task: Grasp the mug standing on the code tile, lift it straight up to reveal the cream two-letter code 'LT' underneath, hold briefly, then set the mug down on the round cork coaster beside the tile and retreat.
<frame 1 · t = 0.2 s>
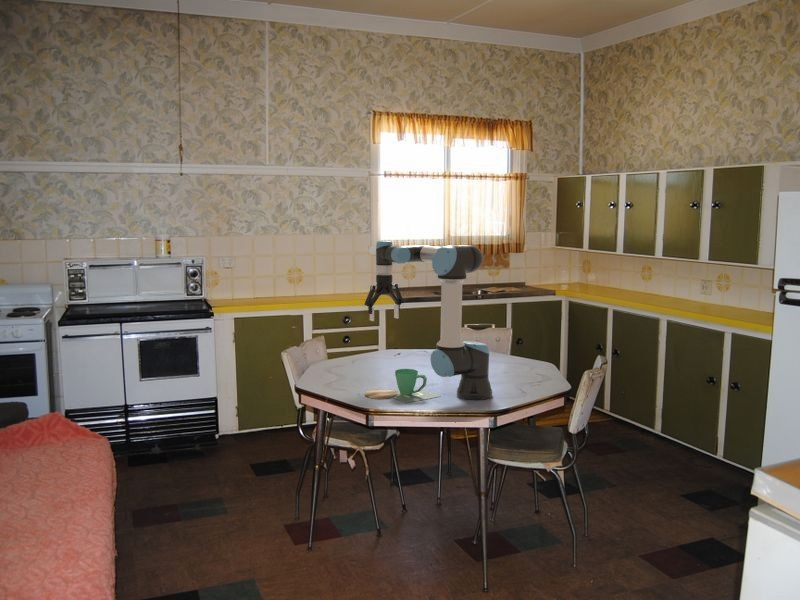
hand: (384, 319, 343), 28 cm above the table, fingers open, 13 cm apart
coaster: (381, 394, 316), on the table
code tile: (411, 395, 315), on the table
mug: (411, 395, 315), resting on code tile
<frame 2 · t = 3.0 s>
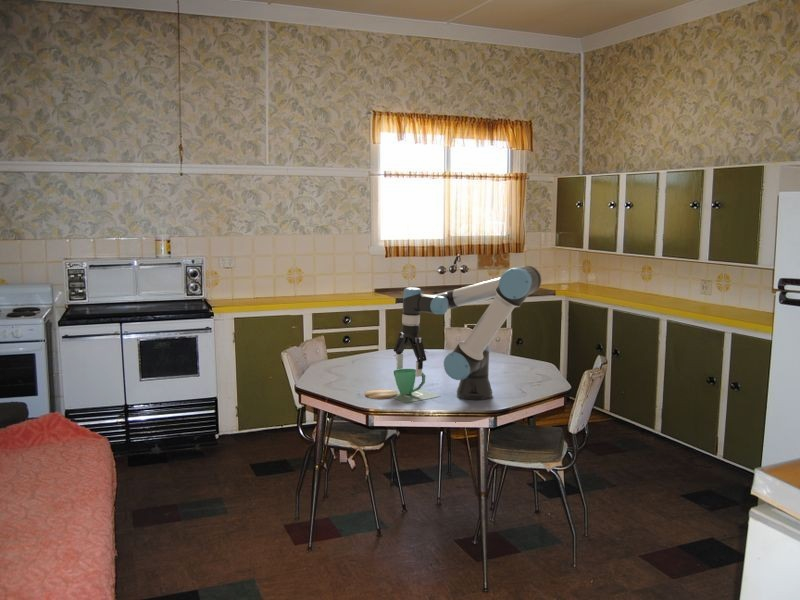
hand: (408, 372, 315), 10 cm above the table, fingers open, 13 cm apart
mug: (411, 394, 315), resting on code tile, touching gripper
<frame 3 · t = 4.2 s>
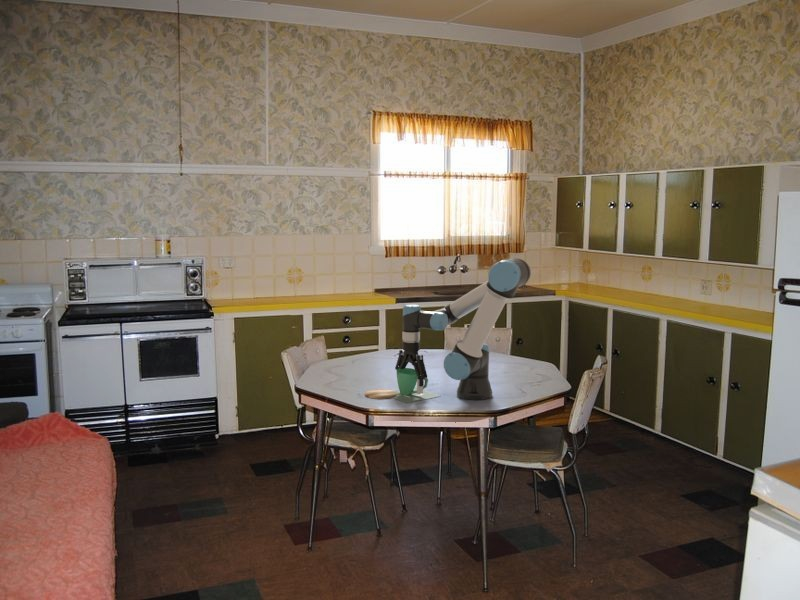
hand: (410, 390, 315), 2 cm above the table, fingers closed on mug, 12 cm apart
mug: (410, 395, 315), resting on code tile, touching gripper
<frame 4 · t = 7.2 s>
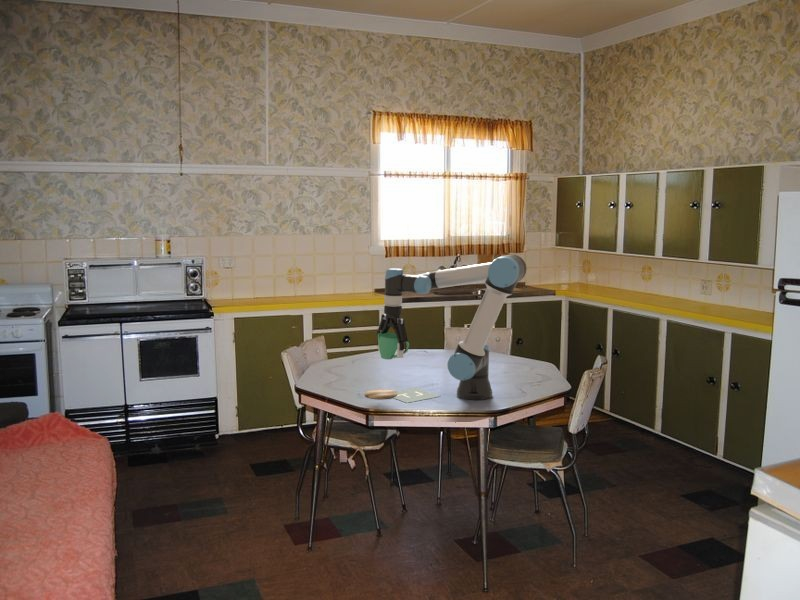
hand: (391, 354, 314), 18 cm above the table, fingers closed on mug, 12 cm apart
mug: (391, 359, 314), point 15 cm above the table, touching gripper
when the fingers open (4 cm above the table, at t = 10.5 s): mug drops 1 cm, resting on coaster.
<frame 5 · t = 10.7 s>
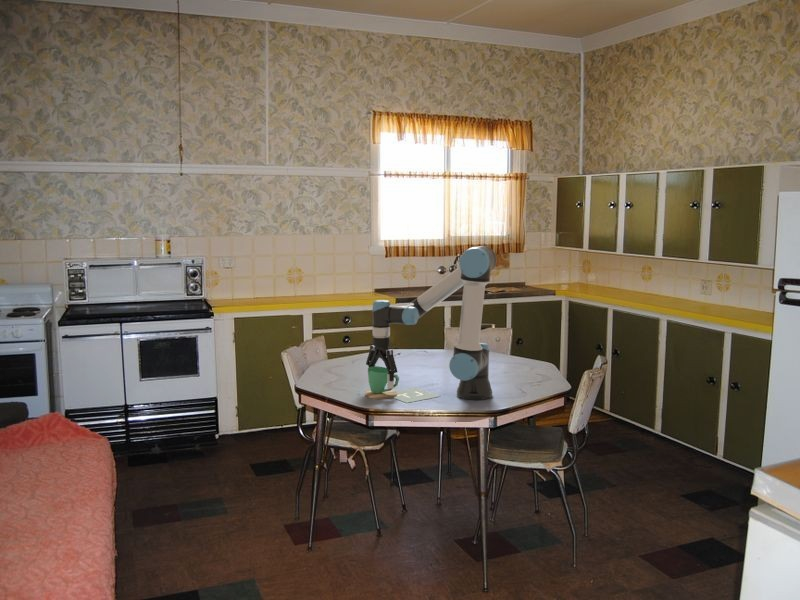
hand: (381, 385, 315), 4 cm above the table, fingers open, 13 cm apart
mug: (381, 393, 316), resting on coaster, touching gripper
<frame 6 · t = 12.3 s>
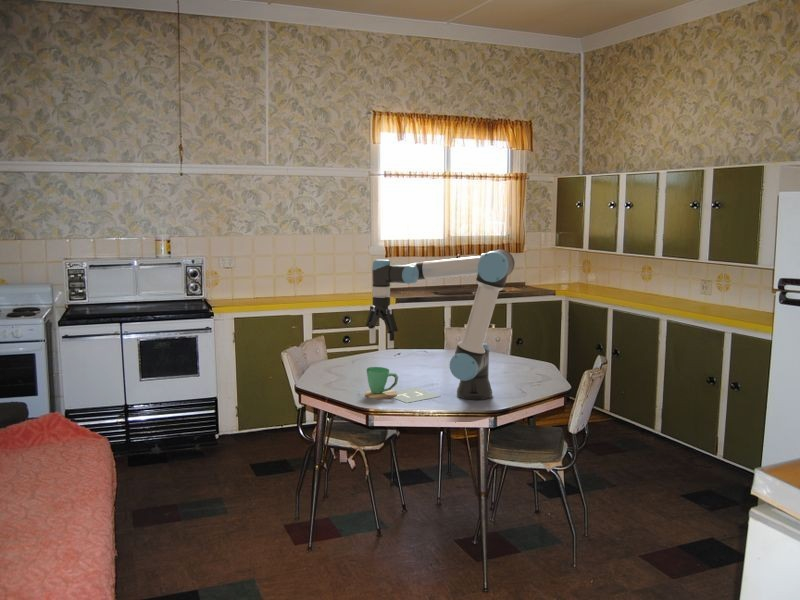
hand: (381, 345, 313), 21 cm above the table, fingers open, 13 cm apart
mug: (381, 393, 316), resting on coaster
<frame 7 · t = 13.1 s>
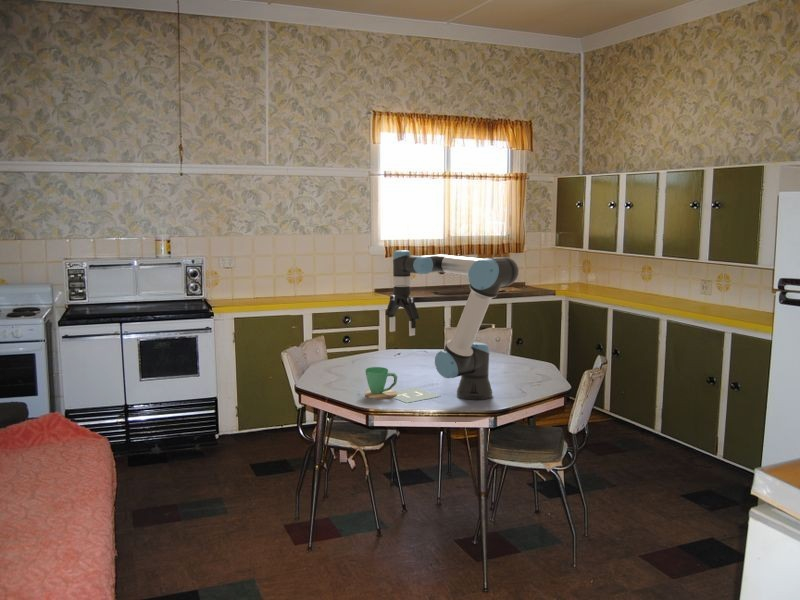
hand: (402, 333, 324), 25 cm above the table, fingers open, 13 cm apart
nothing on the table moved.
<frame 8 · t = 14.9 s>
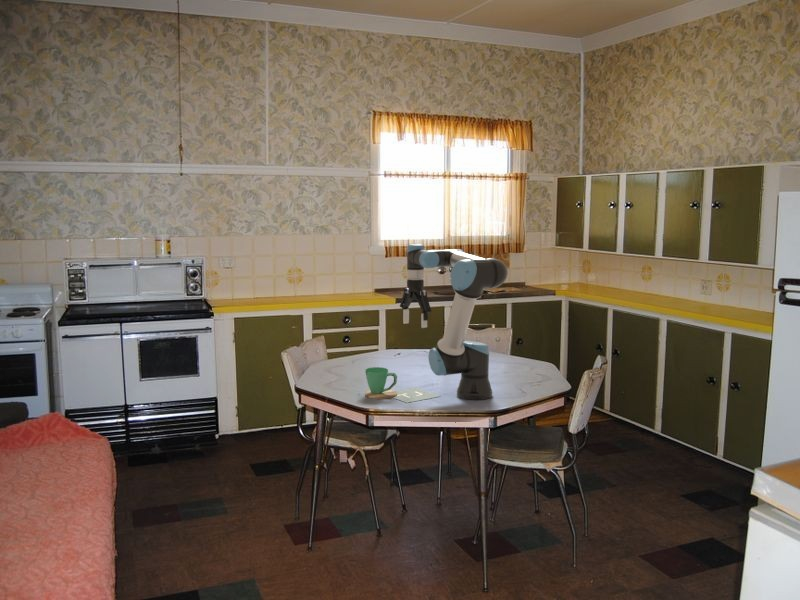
hand: (415, 325, 333), 27 cm above the table, fingers open, 13 cm apart
nothing on the table moved.
at the end: mug inside the target area on the coaster (0.4 cm from its centre), point 0.4 cm above the coaster's base; mug tilted 0°; the gripper is holding nothing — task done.
